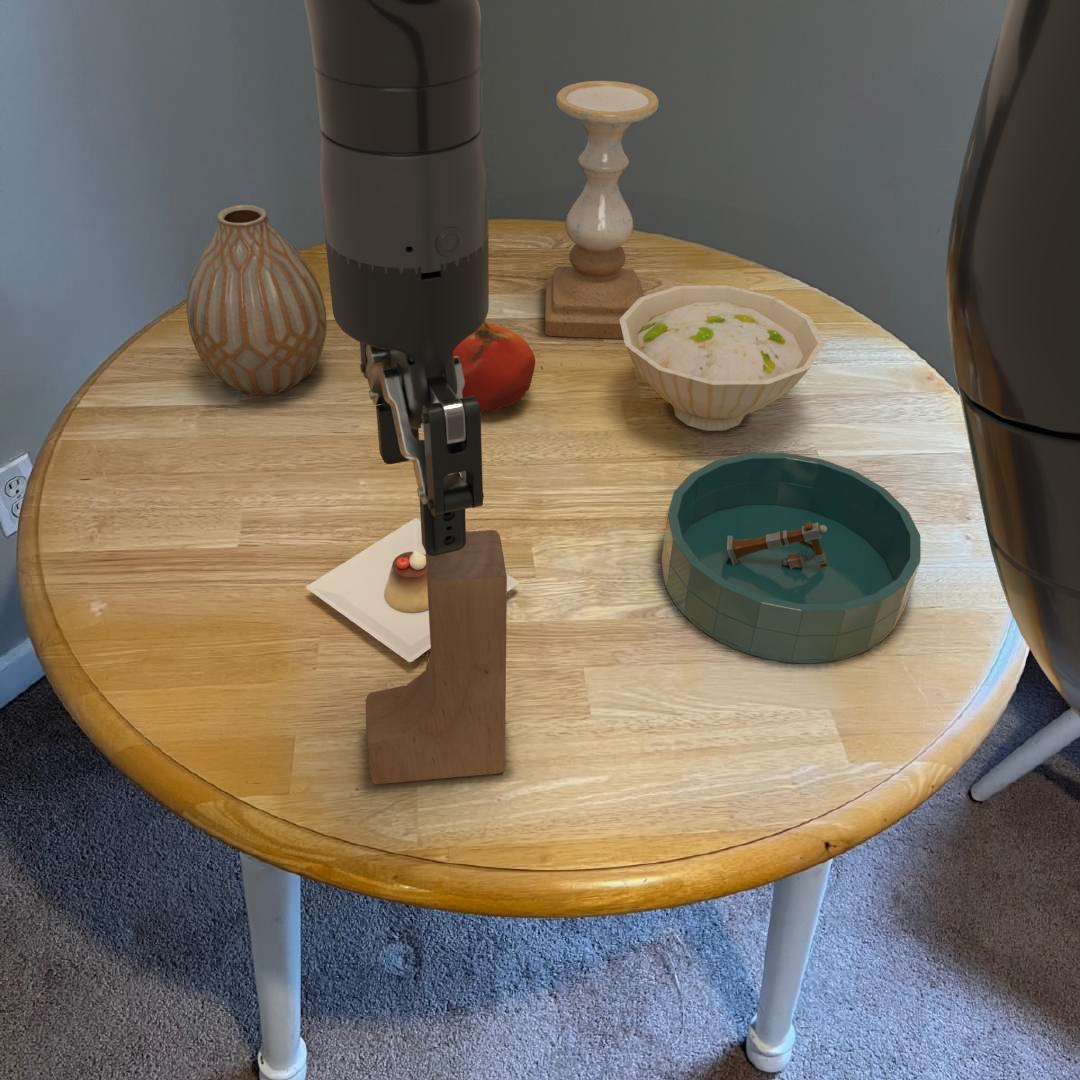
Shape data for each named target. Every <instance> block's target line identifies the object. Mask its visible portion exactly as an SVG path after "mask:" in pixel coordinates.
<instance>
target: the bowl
mask: <svg viewBox="0 0 1080 1080" xmlns="http://www.w3.org/2000/svg"><path fill="white" fill-rule="evenodd" d="M619 320H620V324H621V329H622V333H623V338H624V339H623V342H624V347H625V348H626V350H627V353H628V355H629V357H630V360H631V361H632V363H633V365H634V367H635V370H636V372H637V374H639V375H640V376H641V378H642V379H643V380H644V381H645V382H646V383H647V384H648V385H649V386H650V387H651V388H652V389H653V390H654V392H656V394H658V396H660V397H661V398H662V399H663V400H665V401H666V402H667V403H668V404H670V405H671V406H672V407H673V411H674V415H675V417H676V418H677V419H678V420H680V421H681V422H683V423H684V424H685V425H687V426H688V427H691V428H696V429H699V430H703V431H705V432H706V431H707V432H709V431H711V432H712V431H727V430H729V429H732V428H735V427H737V426H739V425H740V424H741V423H742V421H743V420H744V419H745V417H746V415H749V414H752V413H753V412H756V411H759V410H762V409H764V408H765V407H766V406H769V405H770V404H771V403H773V402H775V401H777V400H778V399H780V398H781V397H783V396H785V395H787V394H788V393H790V392H791V391H792V390H793V388H794V387H795V386H796V385H797V384H798V383H799V382H800V380H801V379H802V378H803V377H804V376H805V375H806V374H807V373H808V371H809V370H810V369H811V367H812V365H814V363H815V362H816V359H817V358H818V356H819V354H820V353H821V351H822V349H823V348H824V346H825V342H824V340H823V338H822V336H821V334H820V333H819V330H818V328H817V326H816V324H815V323H814V320H813V318H811V317H810V316H809V315H807V314H805V313H803V312H802V311H800V310H799V309H797V308H795V307H793V306H792V305H790V304H789V303H787V302H786V301H784V300H782V299H780V298H778V297H776V296H775V295H774V296H773V295H769V294H765V293H761V292H757V291H752V290H749V289H744V288H740V287H736V286H732V285H676V286H673V287H670V288H667V289H664V290H663V289H662V290H660V291H656V292H654V293H651V294H647V295H643V297H640V298H639V299H638V300H637V301H636V302H635V303H634V304H633V305H632V306H631V307H630V308H629V309H628V310H627V311H626V313H625V314H624V315H623V316H622V317H621V318H620V319H619Z"/></svg>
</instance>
